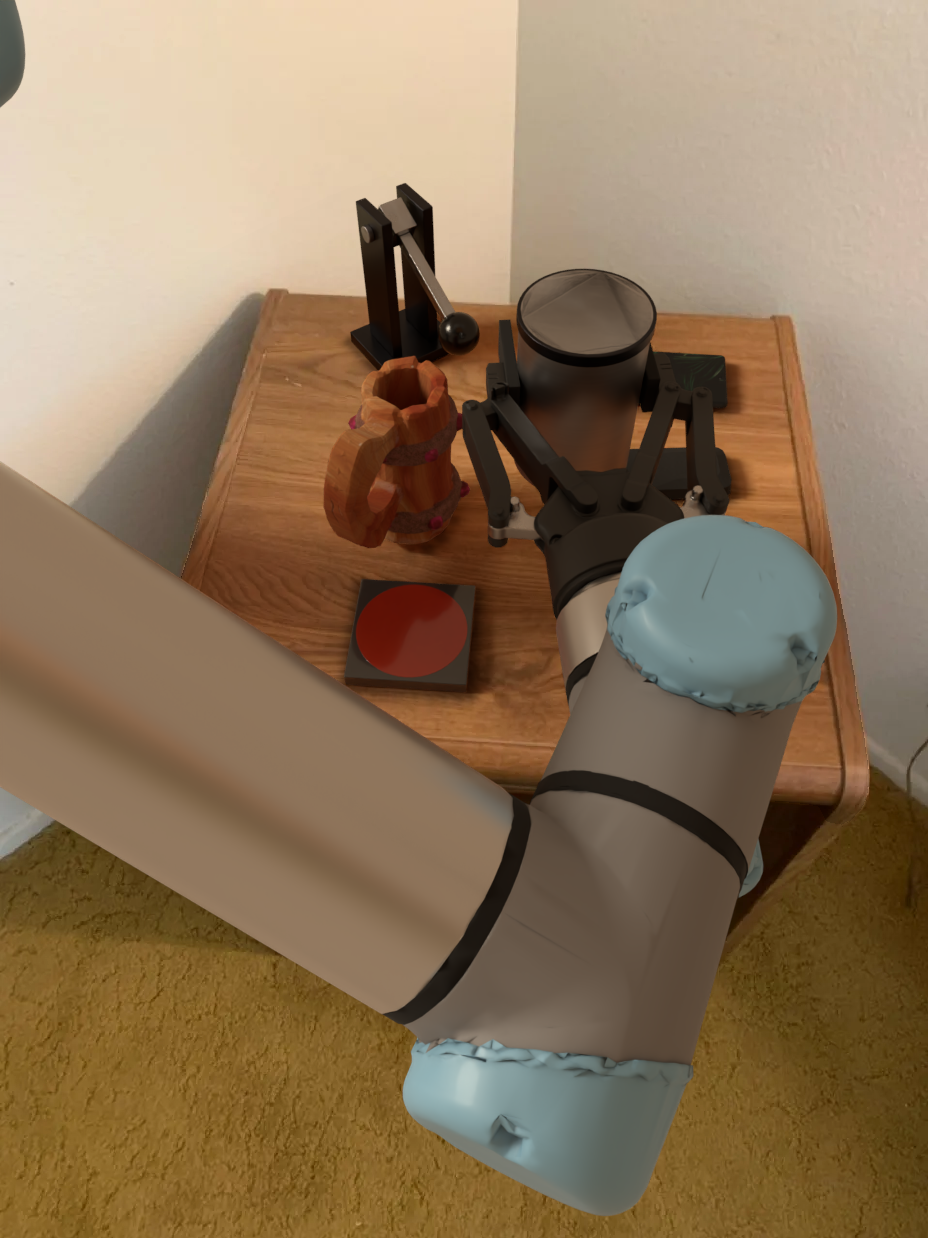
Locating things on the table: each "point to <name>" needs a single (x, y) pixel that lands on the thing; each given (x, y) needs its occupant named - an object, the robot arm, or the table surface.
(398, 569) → the table surface
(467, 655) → the hob
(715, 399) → the smartphone
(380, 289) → the switch
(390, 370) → the mug
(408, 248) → the lever
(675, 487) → the remote control
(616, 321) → the lidded metal tumbler
